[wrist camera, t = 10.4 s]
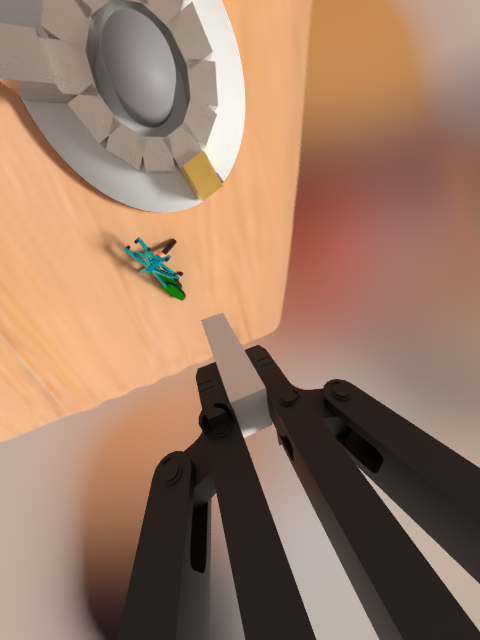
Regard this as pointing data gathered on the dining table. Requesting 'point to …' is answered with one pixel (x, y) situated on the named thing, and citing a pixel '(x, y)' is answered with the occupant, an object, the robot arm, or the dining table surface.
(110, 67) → the white shallow round piece
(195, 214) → the dining table surface
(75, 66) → the grey segmented ring
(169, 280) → the stick construction toy
